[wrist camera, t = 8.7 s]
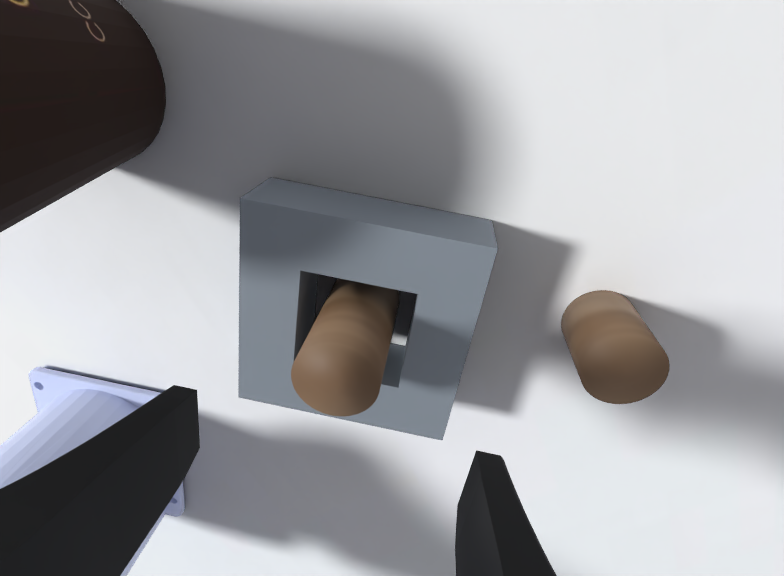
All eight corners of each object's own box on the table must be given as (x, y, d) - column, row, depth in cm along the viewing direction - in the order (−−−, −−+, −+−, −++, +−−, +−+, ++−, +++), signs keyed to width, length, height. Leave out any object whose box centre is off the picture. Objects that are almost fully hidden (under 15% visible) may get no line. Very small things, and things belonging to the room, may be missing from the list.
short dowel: (619, 357, 21) (648, 410, 17) (551, 343, 21) (568, 394, 18) (647, 298, 19) (684, 345, 16) (575, 283, 19) (597, 328, 16)
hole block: (443, 394, 23) (442, 440, 20) (263, 357, 23) (238, 397, 20) (491, 220, 18) (497, 248, 16) (270, 177, 19) (239, 198, 16)
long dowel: (396, 330, 21) (376, 422, 16) (331, 320, 21) (291, 409, 16) (403, 270, 20) (384, 350, 15) (334, 261, 20) (290, 336, 15)
